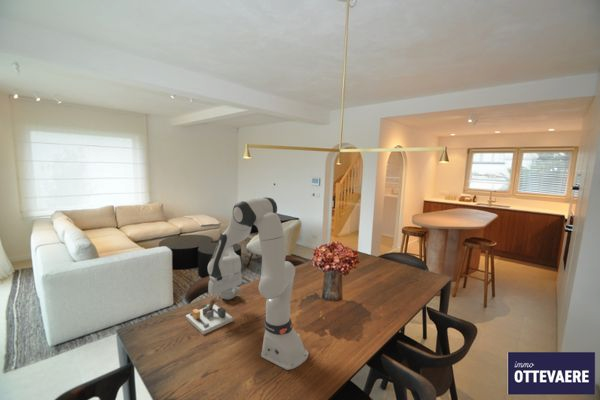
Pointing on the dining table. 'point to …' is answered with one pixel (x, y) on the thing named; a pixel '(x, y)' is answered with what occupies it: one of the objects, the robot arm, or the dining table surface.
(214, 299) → the walnut lever
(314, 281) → the dining table surface
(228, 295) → the teacup
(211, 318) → the panel
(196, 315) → the orange slider
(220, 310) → the black slider
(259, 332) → the dining table surface
